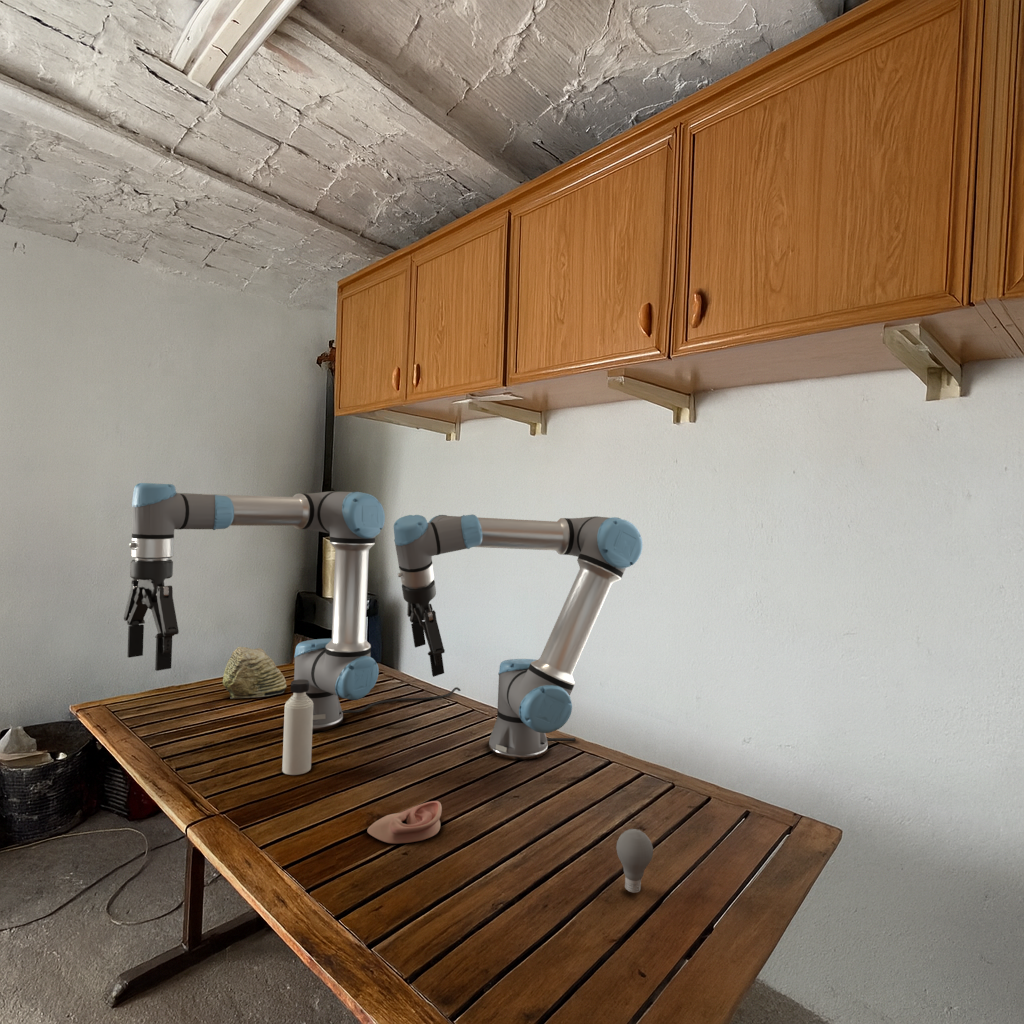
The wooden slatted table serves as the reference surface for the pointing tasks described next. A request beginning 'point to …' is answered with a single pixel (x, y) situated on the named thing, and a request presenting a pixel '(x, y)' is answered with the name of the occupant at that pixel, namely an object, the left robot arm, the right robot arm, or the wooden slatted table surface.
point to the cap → (299, 686)
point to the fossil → (252, 674)
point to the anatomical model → (408, 824)
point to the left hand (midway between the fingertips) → (148, 662)
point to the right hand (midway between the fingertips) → (428, 659)
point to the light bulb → (634, 857)
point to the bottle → (297, 734)
